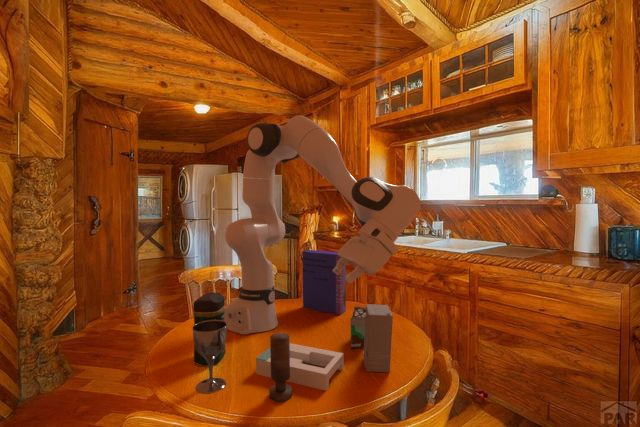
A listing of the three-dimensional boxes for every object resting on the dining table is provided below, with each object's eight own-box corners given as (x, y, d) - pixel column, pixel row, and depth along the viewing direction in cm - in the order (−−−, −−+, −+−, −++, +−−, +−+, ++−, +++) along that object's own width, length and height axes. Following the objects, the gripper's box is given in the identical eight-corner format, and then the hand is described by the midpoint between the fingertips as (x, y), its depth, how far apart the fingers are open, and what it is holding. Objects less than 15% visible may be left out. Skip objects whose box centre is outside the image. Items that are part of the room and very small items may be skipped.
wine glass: (198, 377, 88) (197, 320, 88) (230, 376, 89) (229, 319, 88) (189, 395, 80) (188, 332, 80) (224, 393, 81) (223, 331, 80)
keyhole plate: (256, 373, 90) (255, 358, 90) (279, 354, 101) (279, 340, 101) (326, 390, 82) (326, 373, 82) (343, 367, 93) (343, 352, 93)
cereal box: (345, 311, 139) (345, 252, 137) (340, 315, 134) (340, 254, 133) (309, 305, 147) (308, 249, 146) (303, 308, 143) (302, 250, 142)
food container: (371, 352, 102) (371, 319, 101) (350, 351, 103) (350, 318, 102) (373, 336, 114) (373, 306, 113) (354, 334, 115) (354, 305, 114)
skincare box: (363, 358, 98) (362, 303, 98) (388, 358, 98) (388, 303, 97) (366, 373, 90) (365, 313, 89) (393, 373, 90) (393, 313, 89)
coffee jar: (219, 366, 94) (217, 299, 93) (190, 367, 94) (188, 300, 93) (229, 351, 104) (227, 290, 103) (202, 351, 104) (201, 290, 103)
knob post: (265, 399, 79) (264, 339, 78) (276, 387, 83) (276, 330, 83) (284, 404, 77) (284, 342, 76) (295, 392, 81) (295, 334, 81)
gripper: (353, 226, 100) (321, 262, 98) (385, 233, 80) (345, 277, 78) (367, 241, 101) (336, 276, 99) (402, 251, 82) (364, 295, 79)
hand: (340, 277), depth 88 cm, fingers open, 8 cm apart
